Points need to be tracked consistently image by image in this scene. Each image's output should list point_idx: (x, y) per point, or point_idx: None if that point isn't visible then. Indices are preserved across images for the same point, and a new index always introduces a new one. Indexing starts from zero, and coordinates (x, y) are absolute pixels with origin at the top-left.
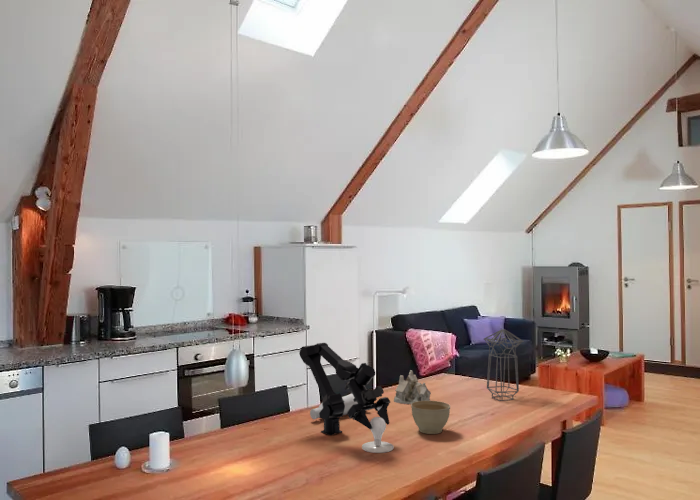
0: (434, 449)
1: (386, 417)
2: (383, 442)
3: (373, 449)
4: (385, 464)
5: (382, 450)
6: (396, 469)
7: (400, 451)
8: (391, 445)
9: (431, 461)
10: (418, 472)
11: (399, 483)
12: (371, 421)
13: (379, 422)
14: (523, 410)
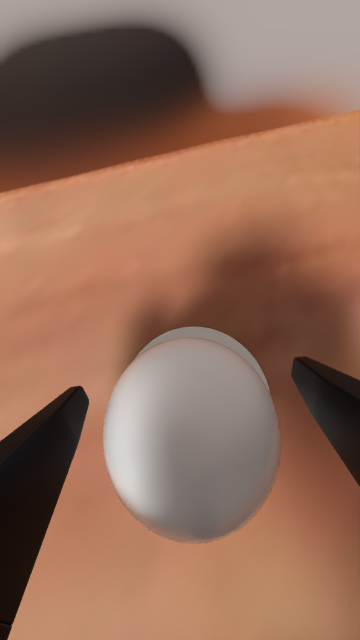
0: (51, 263)
1: (37, 433)
2: None
3: None
4: (273, 238)
5: (211, 337)
6: (265, 196)
7: (149, 307)
8: None
9: (141, 198)
10: (225, 162)
11: (311, 135)
12: (277, 448)
13: (214, 348)
14: None
